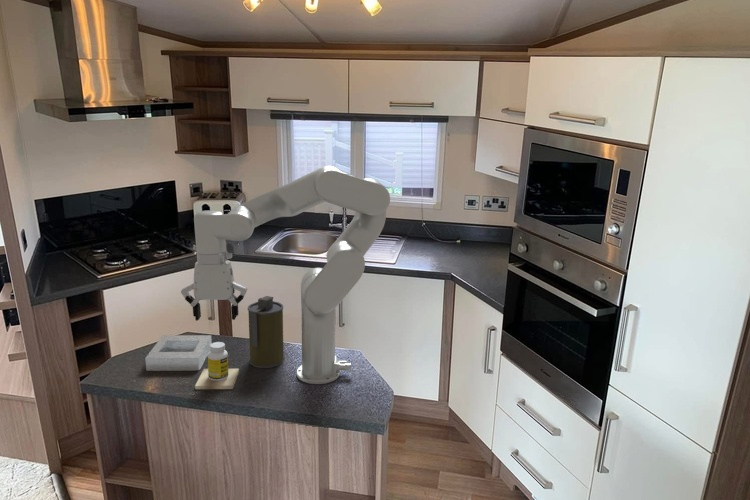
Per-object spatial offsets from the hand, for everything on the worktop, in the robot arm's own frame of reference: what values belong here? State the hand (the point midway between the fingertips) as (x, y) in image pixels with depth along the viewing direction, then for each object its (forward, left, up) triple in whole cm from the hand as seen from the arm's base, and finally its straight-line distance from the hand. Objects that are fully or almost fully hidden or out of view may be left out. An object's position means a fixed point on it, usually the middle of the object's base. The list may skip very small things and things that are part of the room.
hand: (216, 318), depth 147 cm
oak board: (0, 0, -19) cm, 19 cm away
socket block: (+14, -14, -19) cm, 27 cm away
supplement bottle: (0, 0, -18) cm, 18 cm away
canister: (-12, -12, -19) cm, 25 cm away
